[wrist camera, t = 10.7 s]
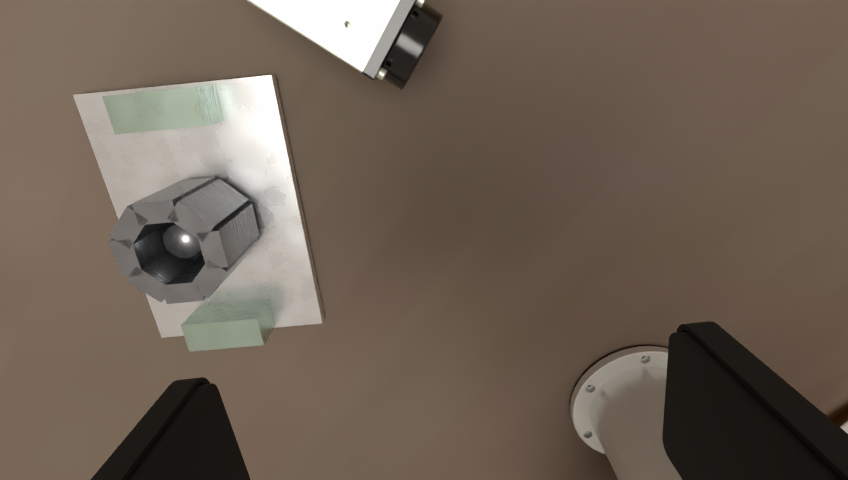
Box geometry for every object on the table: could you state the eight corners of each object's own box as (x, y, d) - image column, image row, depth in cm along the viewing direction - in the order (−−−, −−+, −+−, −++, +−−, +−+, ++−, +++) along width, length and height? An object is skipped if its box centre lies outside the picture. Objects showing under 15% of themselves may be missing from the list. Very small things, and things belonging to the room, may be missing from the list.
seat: (324, 317, 38) (310, 355, 33) (167, 331, 39) (129, 370, 34) (275, 74, 31) (247, 75, 26) (83, 94, 32) (18, 99, 26)
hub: (266, 260, 35) (236, 297, 29) (179, 269, 35) (133, 307, 29) (244, 174, 32) (208, 196, 27) (150, 183, 32) (95, 207, 27)
